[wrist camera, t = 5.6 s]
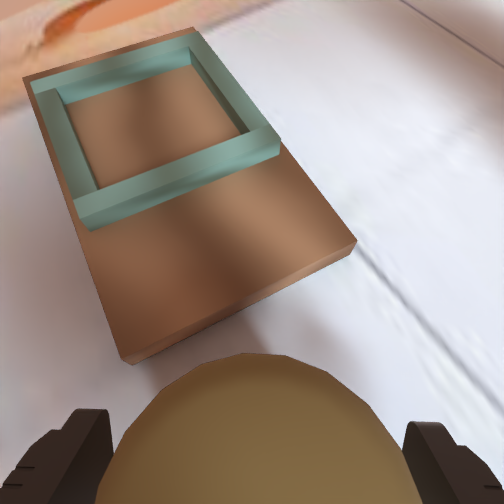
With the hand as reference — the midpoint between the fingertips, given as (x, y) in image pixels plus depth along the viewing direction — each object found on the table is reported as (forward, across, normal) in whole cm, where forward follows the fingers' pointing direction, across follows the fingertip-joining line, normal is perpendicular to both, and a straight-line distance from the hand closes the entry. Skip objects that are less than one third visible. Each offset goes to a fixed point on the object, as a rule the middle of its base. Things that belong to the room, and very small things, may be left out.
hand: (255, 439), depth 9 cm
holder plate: (+14, +5, -6) cm, 16 cm away
